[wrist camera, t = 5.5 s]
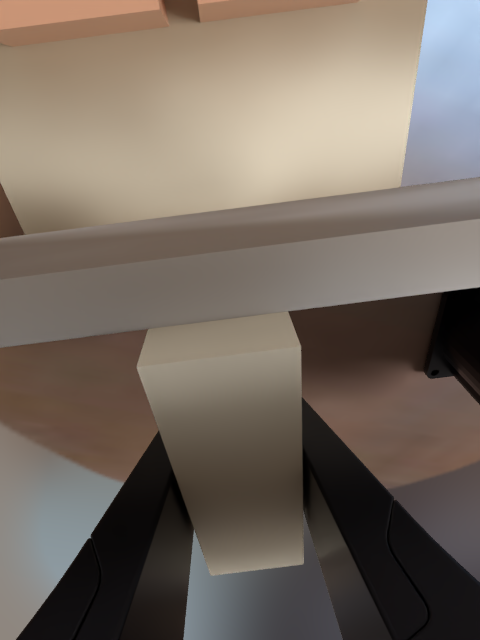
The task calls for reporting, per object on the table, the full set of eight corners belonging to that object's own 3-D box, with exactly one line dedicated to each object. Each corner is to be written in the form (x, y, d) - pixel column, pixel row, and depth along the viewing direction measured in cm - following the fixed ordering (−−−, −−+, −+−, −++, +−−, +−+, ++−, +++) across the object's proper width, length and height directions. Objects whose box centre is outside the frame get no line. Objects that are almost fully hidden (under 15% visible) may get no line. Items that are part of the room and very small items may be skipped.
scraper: (418, 430, 12) (490, 541, 9) (73, 473, 12) (25, 599, 9) (487, 176, 7) (681, 221, 4) (-69, 246, 7) (-268, 342, 4)
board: (363, 228, 16) (390, 250, 14) (77, 265, 16) (52, 294, 14) (420, -379, 8) (514, -599, 6) (-153, -307, 8) (-318, -495, 6)
